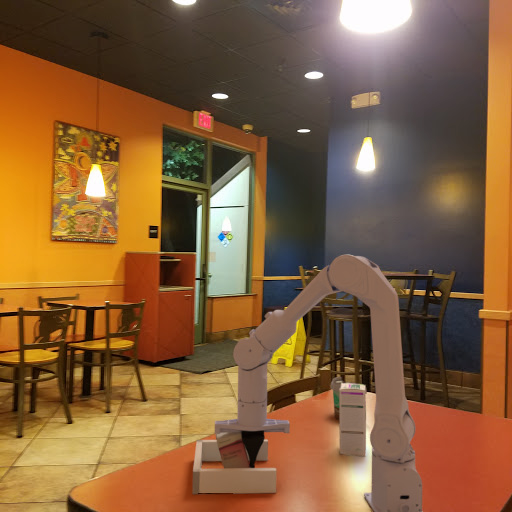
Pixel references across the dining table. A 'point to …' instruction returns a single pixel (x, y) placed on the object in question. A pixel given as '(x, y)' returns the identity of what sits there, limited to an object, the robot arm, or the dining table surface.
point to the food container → (338, 394)
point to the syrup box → (352, 419)
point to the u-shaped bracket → (230, 473)
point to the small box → (232, 450)
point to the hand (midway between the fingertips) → (251, 469)
